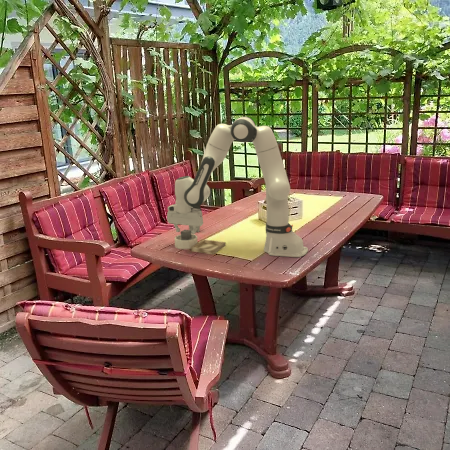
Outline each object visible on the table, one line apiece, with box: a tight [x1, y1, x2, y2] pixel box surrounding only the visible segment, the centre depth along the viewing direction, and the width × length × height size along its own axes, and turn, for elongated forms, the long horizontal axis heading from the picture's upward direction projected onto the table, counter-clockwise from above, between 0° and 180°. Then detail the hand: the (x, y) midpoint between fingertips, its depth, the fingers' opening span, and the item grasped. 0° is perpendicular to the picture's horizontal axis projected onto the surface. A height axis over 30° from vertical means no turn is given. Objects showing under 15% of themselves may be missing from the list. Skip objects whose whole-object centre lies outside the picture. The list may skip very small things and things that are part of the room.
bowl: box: [174, 233, 199, 250], centre depth 252 cm, size 12×12×6 cm
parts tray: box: [190, 239, 227, 255], centre depth 246 cm, size 13×14×3 cm
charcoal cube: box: [180, 229, 192, 240], centre depth 251 cm, size 4×4×4 cm
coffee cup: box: [188, 205, 203, 234], centre depth 276 cm, size 9×9×15 cm
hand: (185, 232), depth 250 cm, fingers open, 8 cm apart
